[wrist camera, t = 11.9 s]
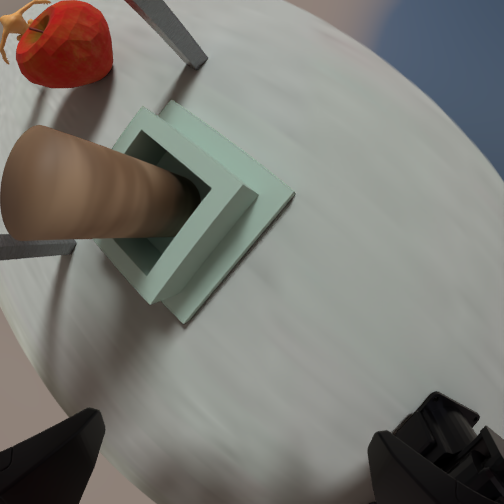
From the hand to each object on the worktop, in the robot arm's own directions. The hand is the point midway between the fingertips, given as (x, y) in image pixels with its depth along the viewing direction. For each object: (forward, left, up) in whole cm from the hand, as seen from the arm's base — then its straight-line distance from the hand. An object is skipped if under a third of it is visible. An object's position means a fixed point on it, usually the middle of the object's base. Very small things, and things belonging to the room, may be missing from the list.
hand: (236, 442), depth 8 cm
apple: (+27, -11, -13) cm, 32 cm away
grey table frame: (+15, -4, -13) cm, 20 cm away
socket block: (+11, -3, -13) cm, 17 cm away
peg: (+11, -3, -12) cm, 16 cm away
